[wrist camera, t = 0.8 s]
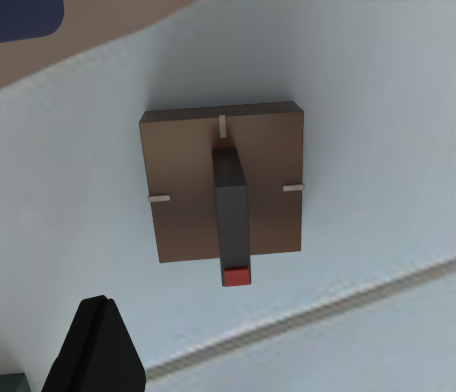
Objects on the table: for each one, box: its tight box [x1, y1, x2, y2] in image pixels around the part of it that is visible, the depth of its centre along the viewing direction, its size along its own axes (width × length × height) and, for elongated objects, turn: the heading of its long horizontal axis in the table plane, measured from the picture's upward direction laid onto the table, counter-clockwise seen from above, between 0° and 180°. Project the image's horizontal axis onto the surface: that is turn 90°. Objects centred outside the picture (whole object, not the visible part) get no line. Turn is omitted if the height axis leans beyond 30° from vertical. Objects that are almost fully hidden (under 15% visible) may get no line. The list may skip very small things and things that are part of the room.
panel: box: [139, 101, 304, 263], centre depth 28 cm, size 10×10×3 cm
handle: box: [211, 148, 251, 287], centre depth 24 cm, size 6×2×6 cm, turn 3°
